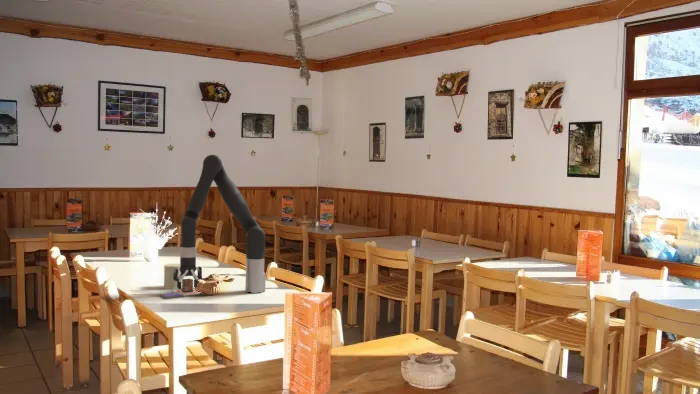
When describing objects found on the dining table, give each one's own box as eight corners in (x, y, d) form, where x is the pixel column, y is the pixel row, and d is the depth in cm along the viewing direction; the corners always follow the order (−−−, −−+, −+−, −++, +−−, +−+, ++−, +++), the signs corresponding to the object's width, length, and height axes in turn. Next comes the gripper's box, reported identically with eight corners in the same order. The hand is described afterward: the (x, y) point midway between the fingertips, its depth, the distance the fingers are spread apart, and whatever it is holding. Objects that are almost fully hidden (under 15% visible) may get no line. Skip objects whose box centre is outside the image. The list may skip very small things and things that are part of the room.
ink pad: (178, 294, 301) (178, 291, 301) (183, 297, 295) (183, 294, 295) (160, 296, 295) (160, 293, 295) (165, 299, 290) (165, 296, 290)
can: (163, 289, 312) (163, 265, 311) (163, 285, 321) (164, 262, 320) (182, 288, 314) (182, 265, 314) (182, 285, 323) (182, 262, 322)
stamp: (189, 290, 309) (189, 278, 308) (193, 291, 305) (193, 279, 305) (181, 291, 306) (181, 279, 306) (184, 292, 302) (185, 280, 302)
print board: (193, 289, 313) (193, 288, 313) (202, 293, 305) (202, 291, 305) (172, 291, 306) (172, 290, 306) (180, 295, 298) (181, 294, 298)
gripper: (177, 257, 297) (176, 291, 298) (204, 255, 306) (204, 288, 307) (171, 255, 303) (170, 288, 304) (198, 253, 312) (197, 285, 313)
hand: (187, 288), depth 305 cm, fingers open, 8 cm apart
